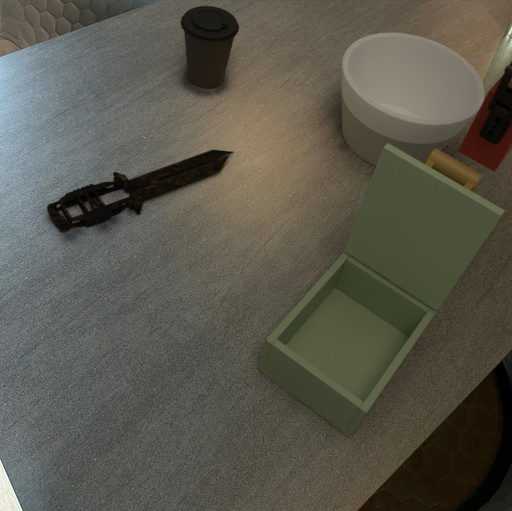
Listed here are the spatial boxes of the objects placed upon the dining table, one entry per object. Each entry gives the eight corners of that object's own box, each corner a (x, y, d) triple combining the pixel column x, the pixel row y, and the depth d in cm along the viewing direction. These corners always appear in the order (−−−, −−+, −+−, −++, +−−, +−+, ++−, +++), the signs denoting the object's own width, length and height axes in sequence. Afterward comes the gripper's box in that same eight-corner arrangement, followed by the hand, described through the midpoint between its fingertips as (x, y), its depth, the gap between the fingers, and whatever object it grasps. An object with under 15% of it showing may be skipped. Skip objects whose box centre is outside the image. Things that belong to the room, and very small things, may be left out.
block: (510, 151, 68) (546, 91, 62) (494, 172, 65) (530, 112, 59) (474, 131, 69) (506, 71, 63) (457, 151, 67) (489, 90, 60)
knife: (228, 148, 85) (229, 140, 84) (251, 181, 82) (252, 173, 81) (42, 199, 75) (40, 191, 74) (59, 238, 72) (57, 231, 71)
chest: (349, 438, 62) (366, 413, 57) (256, 369, 65) (265, 339, 60) (417, 341, 70) (437, 311, 65) (331, 283, 73) (344, 250, 68)
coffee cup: (226, 100, 91) (232, 39, 83) (171, 87, 91) (173, 25, 83) (238, 67, 96) (245, 8, 88) (186, 55, 96) (189, -6, 88)
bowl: (473, 183, 87) (508, 124, 78) (341, 186, 83) (362, 124, 75) (430, 93, 98) (456, 33, 90) (311, 92, 94) (327, 29, 86)
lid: (501, 215, 52) (524, 181, 55) (383, 146, 55) (410, 118, 58) (437, 311, 64) (458, 280, 67) (343, 250, 68) (367, 223, 70)
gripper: (608, 21, 46) (505, 182, 60) (656, -43, 54) (555, 112, 67) (515, -22, 48) (436, 143, 62) (574, -77, 56) (492, 80, 70)
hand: (498, 126), depth 65 cm, fingers closed on block, 4 cm apart
